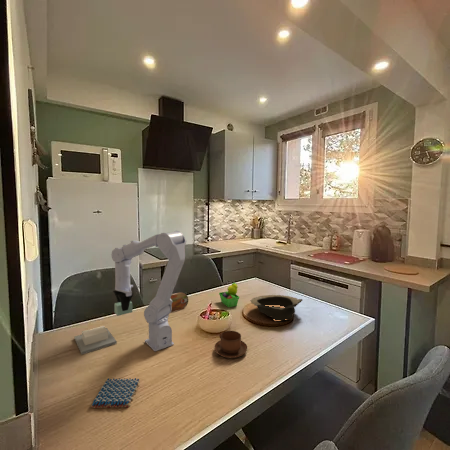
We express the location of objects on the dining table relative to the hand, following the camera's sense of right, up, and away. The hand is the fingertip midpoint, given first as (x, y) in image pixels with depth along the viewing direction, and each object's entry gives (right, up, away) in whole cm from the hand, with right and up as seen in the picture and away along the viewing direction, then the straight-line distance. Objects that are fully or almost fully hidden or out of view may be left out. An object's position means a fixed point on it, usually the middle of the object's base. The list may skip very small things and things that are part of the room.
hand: (123, 308), depth 107 cm
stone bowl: (+67, -10, +21) cm, 71 cm away
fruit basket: (+45, -9, +34) cm, 57 cm away
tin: (+16, -9, +25) cm, 31 cm away
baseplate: (-9, -11, -6) cm, 15 cm away
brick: (0, -2, 0) cm, 2 cm away
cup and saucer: (+44, -12, -12) cm, 47 cm away
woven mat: (+12, -14, -35) cm, 39 cm away
